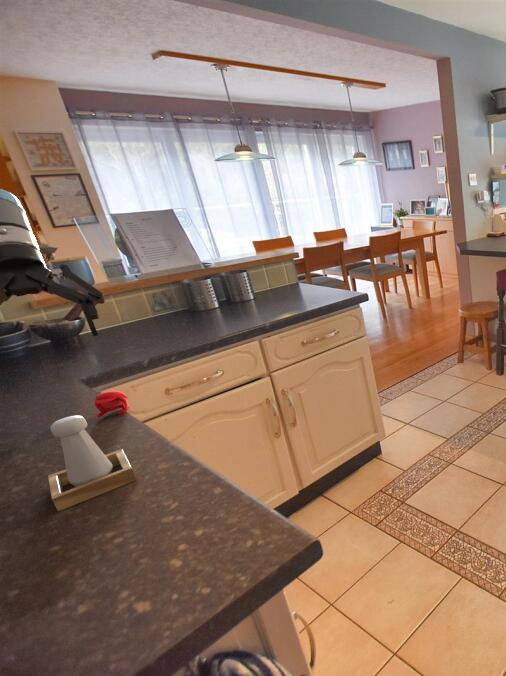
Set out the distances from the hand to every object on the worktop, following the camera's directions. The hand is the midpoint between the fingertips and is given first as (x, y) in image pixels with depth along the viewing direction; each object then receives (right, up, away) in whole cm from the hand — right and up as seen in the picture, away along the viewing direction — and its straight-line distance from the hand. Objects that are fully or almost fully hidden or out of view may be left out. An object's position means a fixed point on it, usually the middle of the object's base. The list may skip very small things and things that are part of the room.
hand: (45, 341), depth 80 cm
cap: (-9, -17, +24) cm, 31 cm away
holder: (+12, -25, -3) cm, 28 cm away
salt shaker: (+12, -25, -2) cm, 28 cm away
